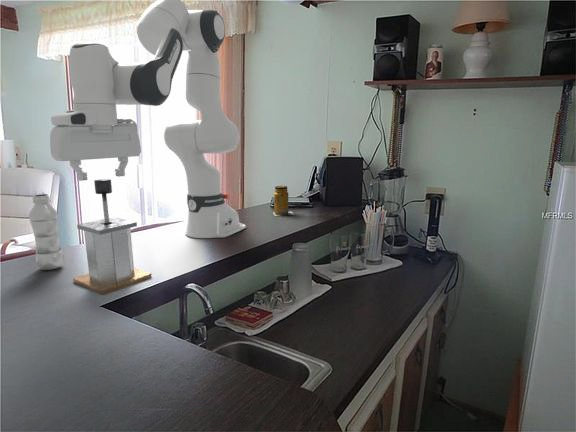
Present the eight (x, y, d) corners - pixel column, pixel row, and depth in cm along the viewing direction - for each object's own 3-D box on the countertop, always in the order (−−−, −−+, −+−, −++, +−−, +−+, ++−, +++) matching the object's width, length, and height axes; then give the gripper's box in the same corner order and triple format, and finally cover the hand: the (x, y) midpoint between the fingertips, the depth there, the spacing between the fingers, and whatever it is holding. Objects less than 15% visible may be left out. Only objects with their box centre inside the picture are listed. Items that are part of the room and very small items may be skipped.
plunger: (114, 243, 104) (107, 177, 100) (129, 248, 100) (123, 179, 96) (89, 250, 98) (81, 180, 94) (104, 255, 95) (96, 182, 91)
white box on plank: (121, 267, 110) (116, 215, 106) (151, 277, 102) (146, 221, 99) (73, 282, 99) (66, 225, 96) (103, 294, 92) (96, 233, 89)
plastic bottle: (53, 273, 105) (42, 197, 100) (30, 271, 106) (19, 197, 102) (70, 265, 111) (61, 193, 107) (49, 263, 112) (39, 192, 108)
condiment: (272, 212, 176) (272, 185, 174) (291, 211, 178) (291, 184, 175) (274, 216, 169) (274, 188, 167) (294, 215, 171) (294, 187, 168)
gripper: (128, 118, 102) (133, 173, 105) (42, 116, 86) (50, 181, 89) (144, 118, 99) (148, 174, 102) (57, 116, 82) (65, 184, 85)
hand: (102, 178), depth 95 cm, fingers open, 8 cm apart
